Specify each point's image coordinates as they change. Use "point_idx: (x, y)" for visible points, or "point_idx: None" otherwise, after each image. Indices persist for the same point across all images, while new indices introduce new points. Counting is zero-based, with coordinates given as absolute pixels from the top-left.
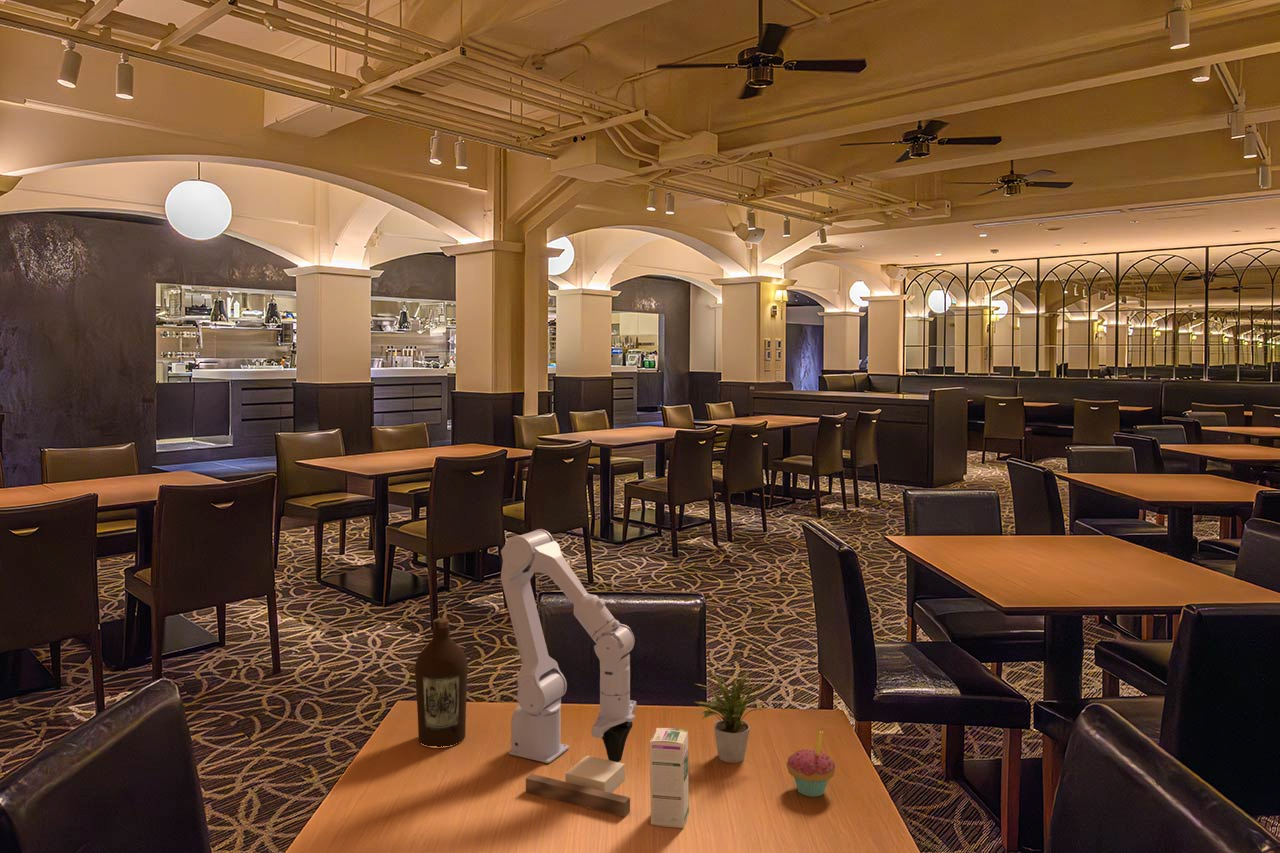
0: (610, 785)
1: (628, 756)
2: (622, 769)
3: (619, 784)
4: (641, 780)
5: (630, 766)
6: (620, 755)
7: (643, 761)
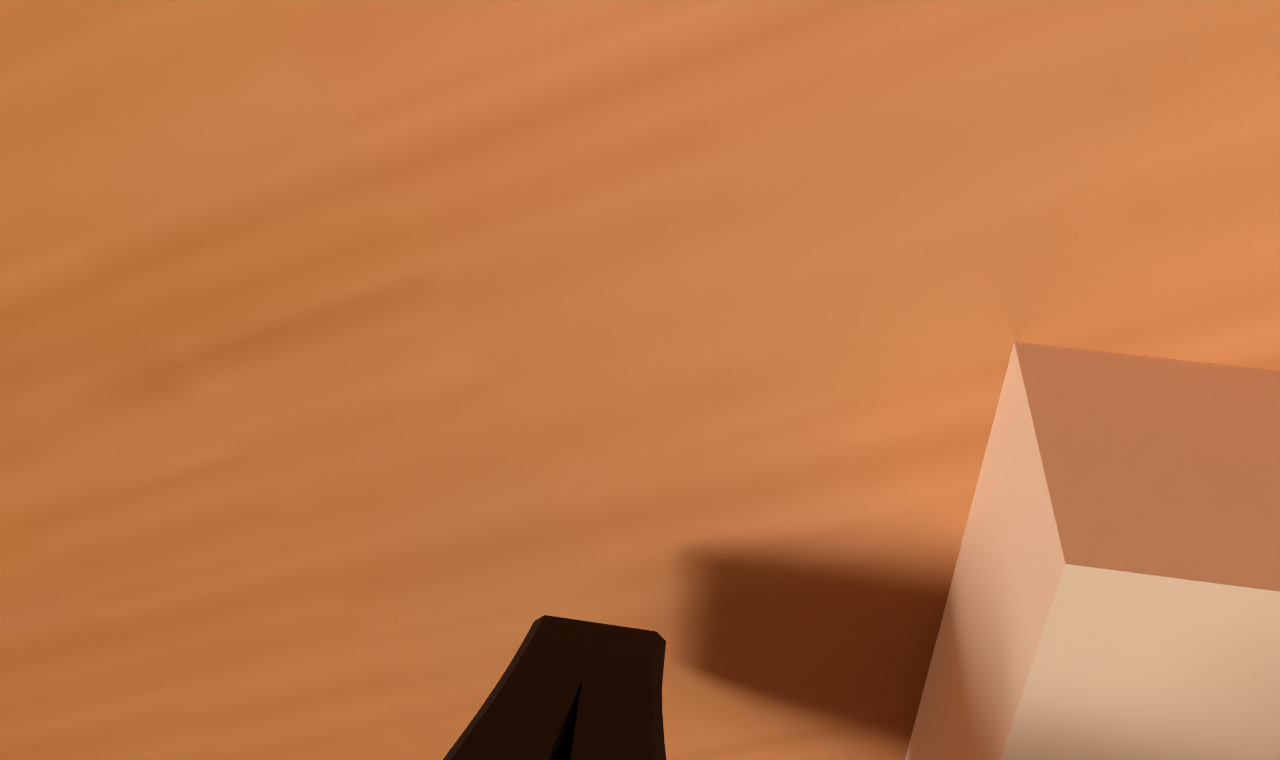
0: None
1: (181, 523)
2: (1189, 525)
3: (1254, 380)
4: (922, 45)
5: (463, 408)
6: (595, 701)
7: (179, 271)
